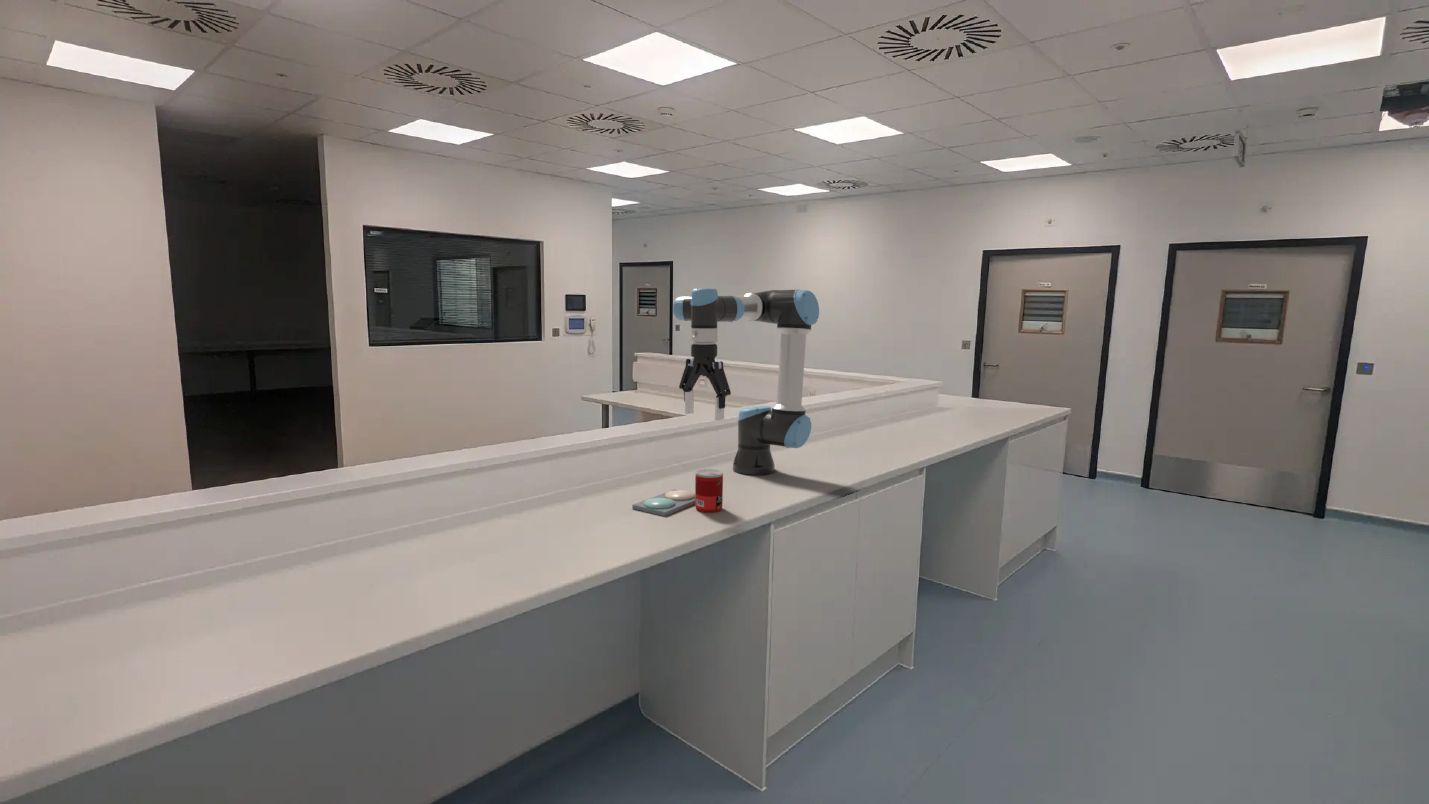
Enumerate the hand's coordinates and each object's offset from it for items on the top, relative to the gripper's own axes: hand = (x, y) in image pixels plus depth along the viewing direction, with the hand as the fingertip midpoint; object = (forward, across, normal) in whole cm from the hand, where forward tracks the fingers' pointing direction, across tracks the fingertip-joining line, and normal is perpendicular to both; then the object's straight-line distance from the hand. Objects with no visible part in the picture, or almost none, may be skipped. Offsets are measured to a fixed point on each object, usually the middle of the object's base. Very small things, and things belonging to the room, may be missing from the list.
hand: (704, 416), depth 189 cm
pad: (+25, -6, -12) cm, 29 cm away
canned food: (+27, +3, -1) cm, 27 cm away
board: (+27, -8, -7) cm, 29 cm away
